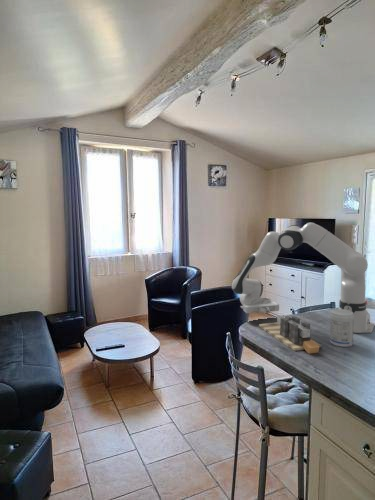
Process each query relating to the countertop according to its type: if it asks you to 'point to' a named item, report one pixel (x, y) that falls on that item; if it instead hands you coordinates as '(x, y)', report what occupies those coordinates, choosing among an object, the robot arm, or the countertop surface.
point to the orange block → (310, 346)
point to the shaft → (302, 330)
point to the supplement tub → (341, 327)
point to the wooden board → (288, 332)
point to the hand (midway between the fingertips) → (267, 311)
